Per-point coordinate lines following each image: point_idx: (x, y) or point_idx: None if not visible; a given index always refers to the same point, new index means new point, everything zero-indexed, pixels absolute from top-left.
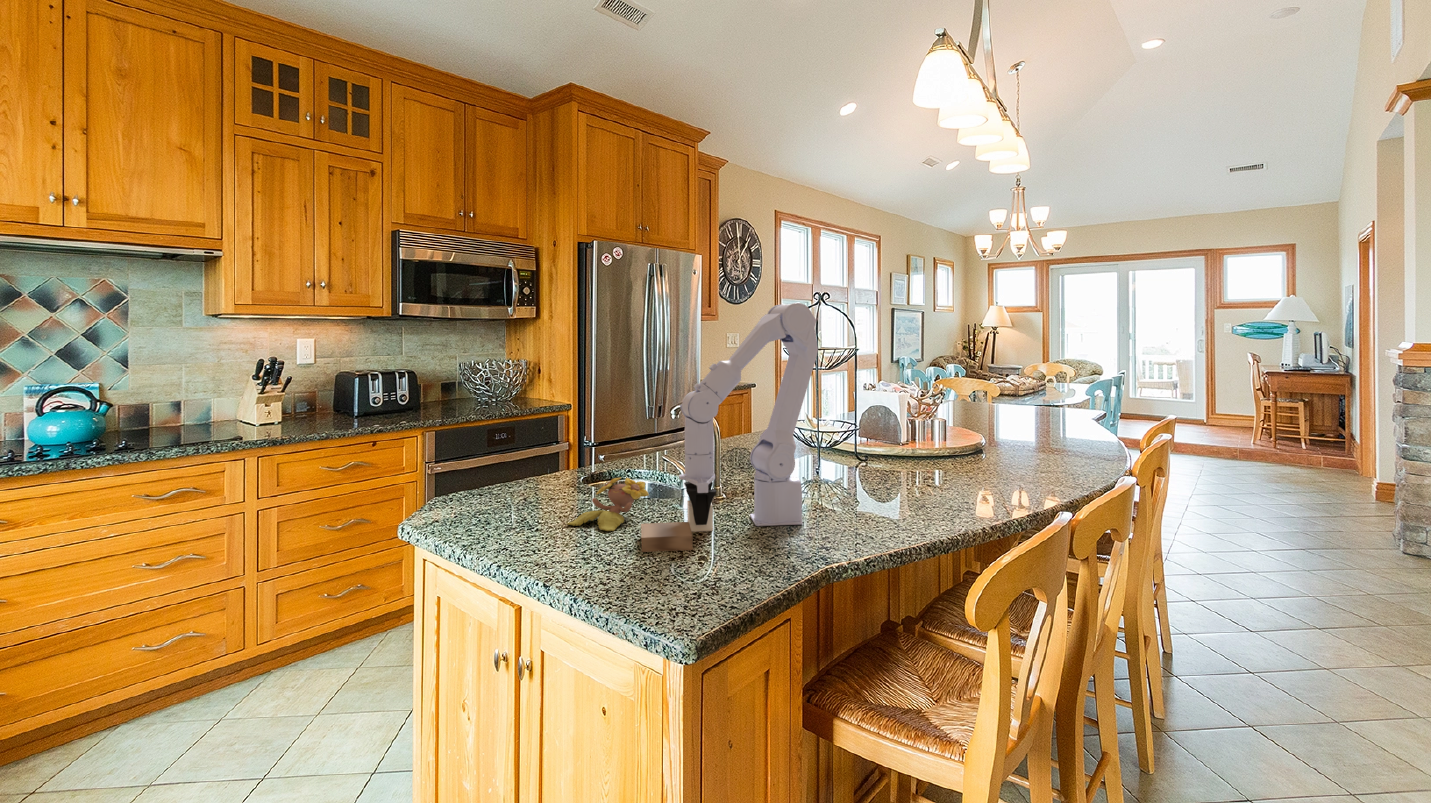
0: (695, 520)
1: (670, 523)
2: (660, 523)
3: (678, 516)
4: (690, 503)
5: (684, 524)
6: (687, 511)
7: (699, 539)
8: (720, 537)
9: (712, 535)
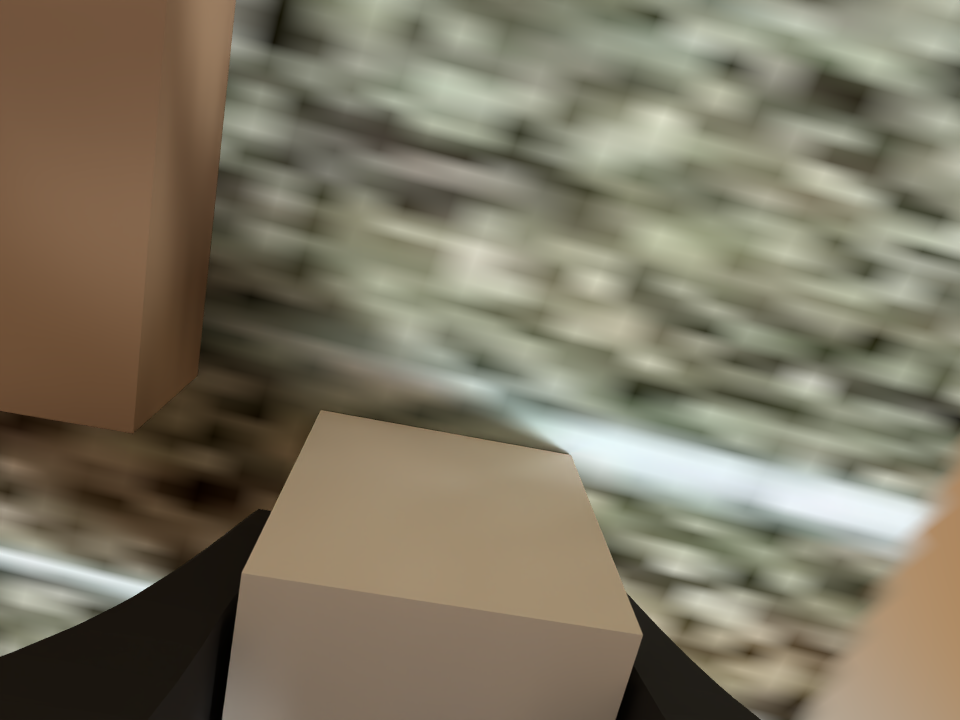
0: (231, 530)
1: (92, 164)
2: (129, 7)
3: (940, 447)
4: (434, 636)
5: (4, 346)
6: (601, 534)
7: (12, 436)
8: (46, 632)
9: (130, 584)
